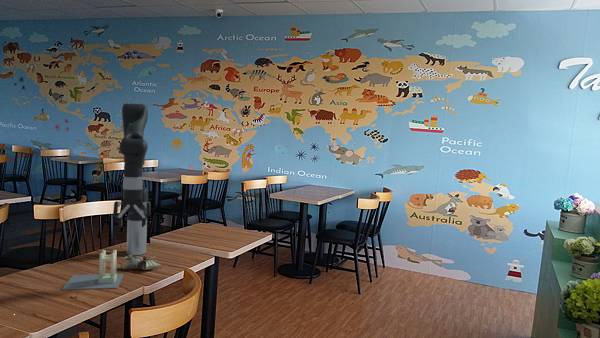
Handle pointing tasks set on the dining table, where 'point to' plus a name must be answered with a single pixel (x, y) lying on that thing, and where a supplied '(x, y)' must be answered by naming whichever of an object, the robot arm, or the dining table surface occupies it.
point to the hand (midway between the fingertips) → (131, 226)
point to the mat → (90, 282)
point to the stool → (102, 263)
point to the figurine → (140, 263)
